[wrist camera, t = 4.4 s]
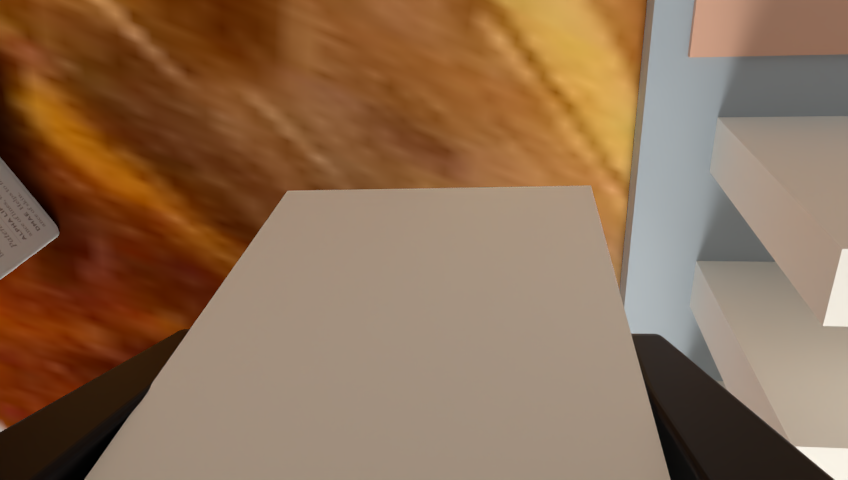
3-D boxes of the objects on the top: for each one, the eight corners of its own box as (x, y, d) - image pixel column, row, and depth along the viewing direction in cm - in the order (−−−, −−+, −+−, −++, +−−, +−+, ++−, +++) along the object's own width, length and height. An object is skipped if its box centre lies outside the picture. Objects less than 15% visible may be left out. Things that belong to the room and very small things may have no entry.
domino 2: (858, 308, 21) (1034, 516, 14) (689, 305, 22) (777, 503, 15) (870, 262, 21) (1062, 457, 14) (696, 260, 21) (792, 446, 14)
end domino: (586, 272, 12) (704, 857, 5) (301, 272, 12) (30, 791, 5) (591, 185, 11) (736, 724, 4) (287, 190, 12) (-47, 665, 5)
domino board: (836, 532, 27) (850, 559, 26) (597, 520, 28) (601, 545, 27) (1048, -151, 17) (1085, -154, 16) (659, -132, 18) (669, -133, 17)
